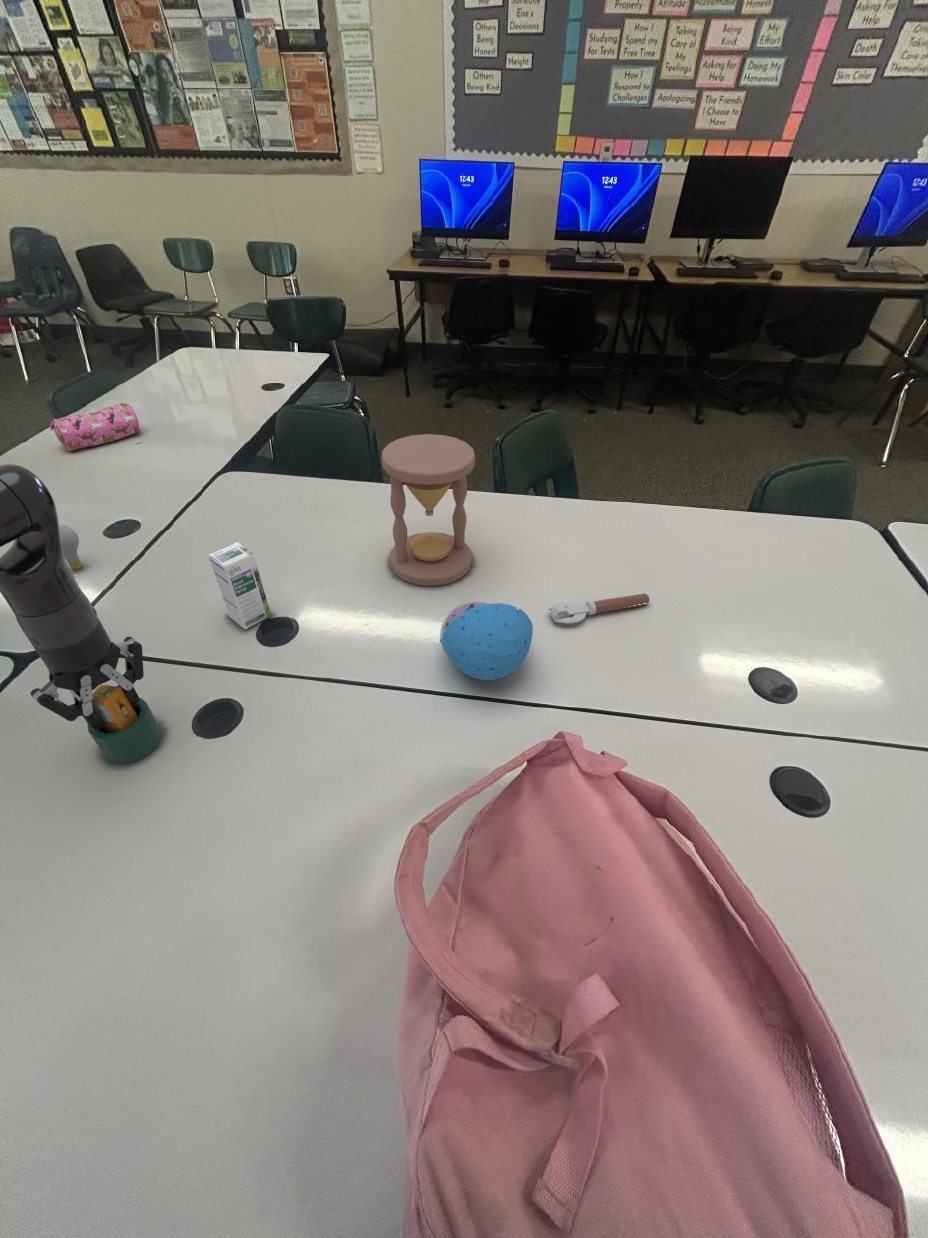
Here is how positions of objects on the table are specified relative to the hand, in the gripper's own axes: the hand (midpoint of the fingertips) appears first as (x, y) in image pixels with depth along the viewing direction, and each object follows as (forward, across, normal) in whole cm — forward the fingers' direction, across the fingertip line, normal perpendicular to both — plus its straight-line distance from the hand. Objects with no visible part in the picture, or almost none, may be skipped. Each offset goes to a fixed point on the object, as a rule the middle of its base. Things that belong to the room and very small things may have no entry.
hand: (116, 715), depth 81 cm
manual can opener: (+6, -71, +42) cm, 83 cm away
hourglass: (+6, -64, +6) cm, 65 cm away
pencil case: (+7, -53, -109) cm, 121 cm away
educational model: (+6, -46, +32) cm, 57 cm away
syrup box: (+6, -29, -10) cm, 31 cm away
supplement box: (+5, 0, 0) cm, 5 cm away
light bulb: (+7, -17, -51) cm, 54 cm away
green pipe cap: (+6, 0, 0) cm, 6 cm away
